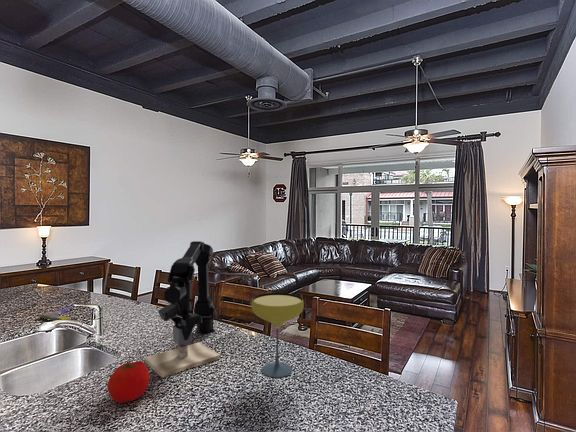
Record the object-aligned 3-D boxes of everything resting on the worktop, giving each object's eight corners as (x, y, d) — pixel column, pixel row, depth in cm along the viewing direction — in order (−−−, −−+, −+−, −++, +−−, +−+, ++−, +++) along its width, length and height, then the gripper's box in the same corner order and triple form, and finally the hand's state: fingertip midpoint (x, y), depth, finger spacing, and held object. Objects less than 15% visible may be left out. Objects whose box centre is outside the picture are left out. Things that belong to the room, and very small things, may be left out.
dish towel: (104, 311, 188) (104, 306, 188) (58, 325, 166) (58, 319, 166) (82, 307, 196) (82, 302, 196) (36, 320, 173) (36, 314, 173)
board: (199, 345, 142) (199, 332, 142) (220, 358, 130) (220, 344, 130) (144, 361, 127) (144, 346, 127) (162, 377, 115) (162, 361, 115)
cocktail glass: (292, 387, 110) (293, 309, 109) (241, 377, 116) (242, 303, 115) (309, 363, 127) (310, 295, 126) (264, 355, 133) (264, 290, 132)
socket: (185, 338, 132) (185, 319, 132) (192, 342, 128) (192, 322, 128) (173, 341, 129) (173, 322, 128) (179, 345, 125) (179, 325, 125)
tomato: (159, 390, 108) (159, 357, 107) (128, 413, 96) (128, 376, 96) (130, 383, 111) (130, 352, 111) (97, 405, 99) (96, 370, 99)
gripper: (150, 294, 129) (151, 336, 130) (172, 305, 116) (172, 352, 116) (179, 289, 137) (179, 329, 138) (202, 299, 123) (202, 343, 124)
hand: (182, 337), depth 129 cm, fingers closed on socket, 5 cm apart
